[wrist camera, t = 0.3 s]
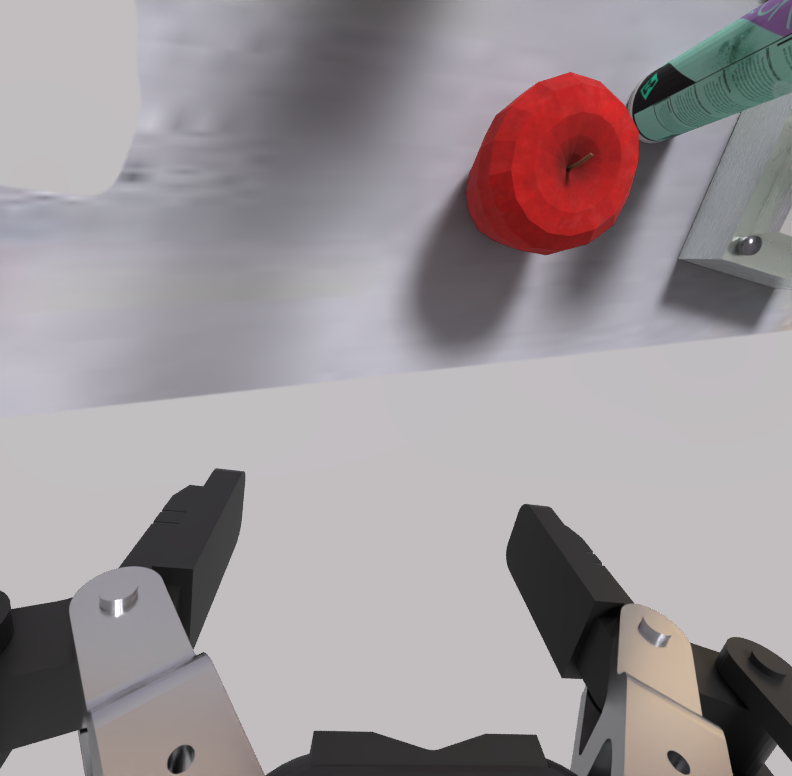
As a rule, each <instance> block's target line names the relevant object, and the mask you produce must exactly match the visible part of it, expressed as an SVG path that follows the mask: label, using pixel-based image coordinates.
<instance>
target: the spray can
mask: <svg viewBox="0 0 792 776" xmlns="http://www.w3.org/2000/svg"><path fill="white" fill-rule="evenodd" d="M789 93H792V0H769V1H767V2H766V3H764V4H762V5H761V6H759V7H757V8H756V9H754V10H753V11H751V12H749V13H748V14H746V15H745V16H743V17H741V18H740V19H738V20H736V21H735V22H733V23H732V24H730V25H728V26H727V27H725V28H724V29H722V30H720V31H719V32H717V33H715V34H714V35H712V36H711V37H709V38H707V39H706V40H704V41H703V42H701V43H699V44H698V45H696V46H694V47H693V48H691V49H690V50H688V51H686V52H685V53H683V54H682V55H680V56H678V57H677V58H675V59H673V60H672V61H670V62H669V63H667V64H665V65H664V66H662V67H661V68H659V69H657V70H656V71H654V72H652V73H651V74H650V75H648V76H647V77H645V78H644V79H643V80H642V81H641V82H640V83H639V84H638V85H637V86H636V88H635V89H634V91H633V93H632V95H631V97H630V100H629V103H628V109H627V110H628V112H629V114H630V116H631V118H632V119H633V121H634V123H635V125H636V127H637V129H638V131H639V140H640V141H642V142H645V143H658V142H661V141H664V140H667V139H670V138H672V137H675V136H678V135H680V134H683V133H686V132H688V131H691V130H694V129H696V128H699V127H702V126H704V125H707V124H709V123H712V122H715V121H717V120H720V119H723V118H725V117H728V116H731V115H733V114H736V113H739V112H741V111H744V110H747V109H749V108H752V107H755V106H757V105H760V104H763V103H765V102H768V101H770V100H773V99H776V98H778V97H781V96H784V95H786V94H789Z"/></svg>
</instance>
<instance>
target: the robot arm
mask: <svg viewBox="0 0 792 776" xmlns="http://www.w3.org/2000/svg"><path fill="white" fill-rule="evenodd" d="M244 488H245V472H244V471H235V470H226V469H215V470H214V471H213V472H212V474H211V475H210V477H209V479H208V480H207V482H206V483H205V485H204V486H195V485H189V486H188V487H186V488H184V489H183V490H181V491H180V492H178V493H176V494H175V495H173V496H172V497H171V499H170V500H169V501H168V503H167V504H166V505H165V507H164V508H163V510H162V512H160V513H159V515H158V516H157V517H156V519H155V520H154V523H153V524H151V526H150V527H149V528H148V529H147V531H146V532H145V534H144V535H143V536H142V537H141V539H140V540H139V542H138V543H137V544H136V545H135V547H134V548H133V550H132V551H131V552H130V553H129V555H128V556H127V557H126V559H125V560H124V562H123V563H122V564H121V566H120V567H119V568H118V569H114V570H111V571H108V572H106V573H103V574H101V575H99V576H97V577H95V578H93V579H92V580H90V581H89V582H87V583H86V584H85V585H83V586H82V587H81V588H80V589H79V590H78V591H77V593H76V594H75V595H74V597H72V598H69V599H66V600H61V601H57V602H51V603H45V604H39V605H33V606H28V607H21V608H16V609H11V606H10V600H9V598H8V596H7V595H6V594H5V593H4V592H2V591H0V768H1V767H2V765H3V763H4V762H5V760H6V759H7V757H8V755H9V754H10V752H11V751H12V749H15V748H18V747H22V746H25V745H29V744H32V743H36V742H39V741H42V740H45V739H49V738H53V737H56V736H59V735H63V734H66V733H70V732H73V731H76V730H78V734H79V741H80V747H81V754H82V759H83V766H84V772H85V776H265V775H264V773H263V770H262V768H261V766H260V764H259V762H258V760H257V758H256V755H255V753H254V751H253V749H252V747H251V744H250V742H249V740H248V738H247V736H246V734H245V731H244V729H243V727H242V725H241V723H240V721H239V718H238V717H237V714H236V712H235V710H234V708H233V705H232V703H231V701H230V699H229V697H228V695H227V692H226V690H225V688H224V686H223V684H222V682H221V679H220V677H219V675H218V673H217V671H216V669H215V666H214V664H213V662H212V661H211V659H210V657H209V656H208V655H207V654H206V653H204V652H203V653H201V654H199V655H196V654H195V653H194V651H193V649H194V647H195V644H196V642H197V639H198V637H199V634H200V632H201V630H202V627H203V625H204V622H205V620H206V617H207V614H208V612H209V610H210V607H211V605H212V602H213V600H214V597H215V595H216V592H217V590H218V588H219V585H220V583H221V580H222V577H223V575H224V573H225V570H226V568H227V565H228V563H229V560H230V558H231V555H232V553H233V551H234V548H235V546H236V543H237V540H238V536H239V532H240V527H241V521H242V510H243V499H244ZM506 560H507V565H508V568H509V570H510V573H511V575H512V577H513V579H514V581H515V583H516V585H517V587H518V589H519V591H520V593H521V595H522V597H523V599H524V601H525V603H526V605H527V607H528V609H529V611H530V613H531V616H532V617H533V620H534V621H535V624H536V626H537V628H538V630H539V632H540V634H541V636H542V638H543V640H544V642H545V644H546V646H547V648H548V650H549V652H550V654H551V656H552V658H553V661H554V663H555V665H556V667H557V669H558V671H559V673H560V675H561V677H562V678H572V679H583V681H584V682H585V684H586V687H585V689H584V692H583V693H582V696H581V702H580V708H579V716H578V723H577V729H576V735H575V742H574V750H573V755H572V763H571V768H570V770H569V769H567V768H565V767H563V766H562V765H560V764H557V763H555V762H553V761H551V760H549V759H546V758H545V756H544V754H543V751H542V748H541V745H540V743H539V740H538V738H537V735H519V734H484V735H481V736H478V737H475V738H472V739H469V740H466V741H463V742H460V743H457V744H454V745H451V746H448V747H445V748H442V749H439V750H427V749H424V748H420V747H417V746H415V745H411V744H408V743H405V742H402V741H399V740H396V739H393V738H390V737H386V736H383V735H380V734H377V733H374V732H346V731H314V733H313V739H312V745H311V750H310V754H307V755H304V756H301V757H298V758H296V759H293V760H291V761H289V762H287V763H285V764H283V765H281V766H279V767H278V768H276V769H275V770H273V771H271V772H270V773H268V774H267V775H266V776H774V775H773V774H772V773H771V772H770V770H769V769H768V768H767V766H766V765H765V764H764V763H765V761H766V760H767V758H768V757H769V756H770V754H771V753H772V751H773V750H774V749H775V747H776V746H777V744H778V745H779V747H780V748H781V749H782V750H783V752H784V753H785V754H786V755H787V757H788V758H789V759H790V760H791V761H792V667H791V666H790V665H789V664H788V663H787V662H786V661H784V660H783V659H782V658H780V657H779V656H778V655H776V654H774V653H773V652H772V651H770V650H768V649H767V648H765V647H763V646H761V645H759V644H757V643H755V642H753V641H750V640H747V639H744V638H739V637H732V638H729V639H728V640H727V642H726V644H725V645H724V647H723V649H722V650H721V652H720V653H719V652H716V651H713V650H710V649H707V648H704V647H701V646H698V645H695V644H692V643H690V642H689V640H688V639H687V637H686V636H685V634H684V633H683V632H682V631H681V630H680V629H679V628H678V627H677V626H676V625H675V624H674V623H673V622H672V621H671V620H669V619H668V618H666V617H665V616H664V615H662V614H660V613H659V612H657V611H655V610H653V609H651V608H649V607H646V606H643V605H639V604H634V602H633V601H632V600H631V599H630V597H629V596H628V595H627V594H626V593H625V591H624V590H623V589H622V587H621V586H620V585H619V584H618V583H617V581H616V580H615V579H614V578H613V576H612V575H611V574H610V572H609V571H608V570H607V569H606V567H605V566H602V563H601V561H600V560H599V559H598V557H597V556H596V555H595V554H593V551H592V550H591V549H590V547H589V546H588V545H587V544H586V543H585V541H584V540H583V539H582V538H581V537H580V536H579V535H577V534H576V533H575V532H574V531H572V530H571V529H570V528H569V527H567V526H565V525H564V524H563V523H562V521H561V520H560V519H559V517H558V516H557V515H556V513H555V512H554V511H553V510H552V508H550V507H547V506H539V505H530V504H524V505H522V506H521V508H520V510H519V512H518V515H517V518H516V521H515V525H514V527H513V530H512V533H511V536H510V539H509V542H508V546H507V550H506Z"/></svg>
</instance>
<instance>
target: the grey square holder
mask: <svg viewBox="0 0 792 776" xmlns="http://www.w3.org/2000/svg"><path fill="white" fill-rule="evenodd" d="M678 259H680V260H684V261H687V262H690V263H693V264H697V265H700V266H703V267H706V268H710V269H713V270H716V271H720V272H723V273H726V274H729V275H733V276H736V277H739V278H742V279H746V280H749V281H752V282H756V283H759V284H762V285H765V286H769V287H772V288H775V289H789V290H792V93H789V94H786V95H784V96H781V97H778V98H776V99H773V100H770V101H768V102H765V103H763V104H760V105H757V106H755V107H752V108H749V109H747V110H744V111H742V112H741V114H740V117H739V119H738V121H737V124H736V126H735V128H734V131H733V133H732V135H731V138H730V140H729V142H728V144H727V147H726V149H725V151H724V154H723V156H722V158H721V161H720V163H719V165H718V168H717V170H716V172H715V175H714V177H713V179H712V181H711V184H710V186H709V188H708V191H707V193H706V195H705V198H704V200H703V202H702V205H701V207H700V209H699V212H698V214H697V216H696V219H695V221H694V223H693V225H692V228H691V230H690V232H689V235H688V237H687V239H686V242H685V244H684V246H683V249H682V251H681V253H680V256H679V258H678Z"/></svg>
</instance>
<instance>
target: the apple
mask: <svg viewBox="0 0 792 776" xmlns="http://www.w3.org/2000/svg"><path fill="white" fill-rule="evenodd" d="M638 161H639V131H638V129H637V127H636V125H635V123H634V121H633V119H632V118H631V116H630V114H629V112H628V110H627V108H626V107H625V105H624V104H623V103H622V102H621V101H620V100H619V99H618V98H617V97H616V96H615V95H614V94H613V93H612V92H611V91H609V90H608V89H607V88H606V87H605V86H604V85H603V84H602V83H601V82H600V81H597V80H594V79H591V78H588V77H584V76H581V75H578V74H575V73H572V72H569V73H566V74H563V75H560V76H557V77H554V78H550V79H547V80H544V81H541V82H538V83H536V84H535V85H534V86H532V87H531V88H530V89H528V90H527V91H525V92H524V93H523V94H521V95H520V96H519V97H518V98H516V99H515V100H514V101H513V102H512V103H510V104H509V105H508V106H507V107H506V108H504V109H503V110H502V111H501V112H500V113H498V114H497V115H496V116H495V118H494V120H493V122H492V124H491V125H490V127H489V129H488V131H487V133H486V135H485V137H484V140H483V142H482V145H481V147H480V149H479V152H478V154H477V157H476V159H475V162H474V164H473V166H472V168H471V171H470V173H469V179H468V185H467V191H466V196H467V202H468V208H469V214H470V215H471V217H472V219H473V221H474V223H475V225H476V226H477V228H478V230H479V231H480V232H482V233H483V234H485V235H486V236H488V237H489V238H491V239H492V240H494V241H496V242H499V243H501V244H504V245H506V246H509V247H512V248H515V249H518V250H521V251H526V252H532V253H537V254H543V255H549V254H552V253H556V252H560V251H563V250H567V249H571V248H574V247H578V246H582V245H585V244H588V243H590V242H591V241H593V240H594V239H595V238H597V237H598V236H599V235H601V234H602V233H603V232H605V231H606V230H607V229H609V228H610V227H612V226H613V225H614V223H615V221H616V219H617V217H618V215H619V214H620V212H621V210H622V208H623V206H624V204H625V202H626V201H627V199H628V197H629V193H630V190H631V186H632V183H633V179H634V176H635V172H636V168H637V165H638Z"/></svg>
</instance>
